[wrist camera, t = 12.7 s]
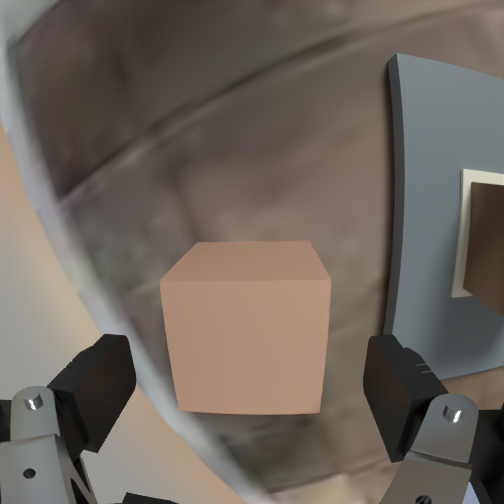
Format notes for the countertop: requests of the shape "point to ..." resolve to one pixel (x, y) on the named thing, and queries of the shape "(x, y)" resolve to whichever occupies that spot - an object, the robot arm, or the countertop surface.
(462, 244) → the slate board
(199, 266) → the terracotta block
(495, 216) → the walnut block
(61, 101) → the countertop surface
